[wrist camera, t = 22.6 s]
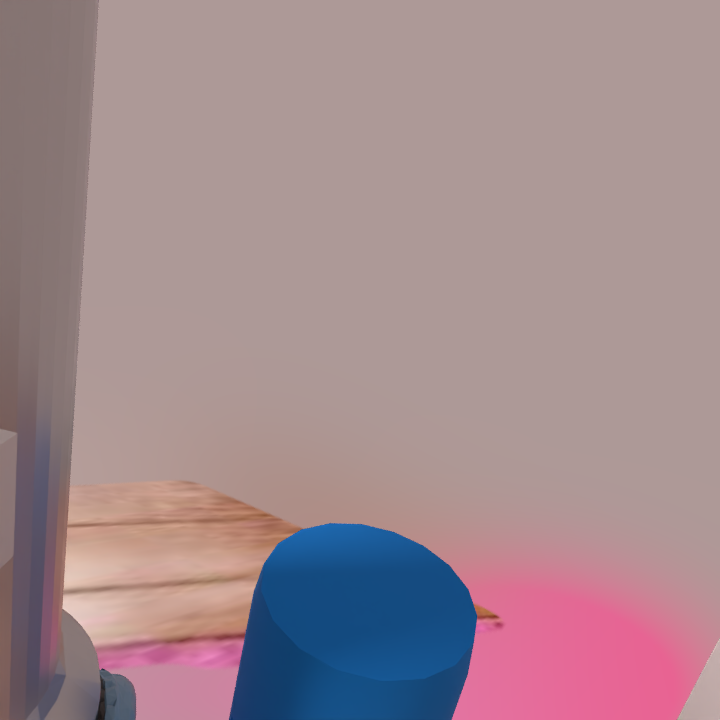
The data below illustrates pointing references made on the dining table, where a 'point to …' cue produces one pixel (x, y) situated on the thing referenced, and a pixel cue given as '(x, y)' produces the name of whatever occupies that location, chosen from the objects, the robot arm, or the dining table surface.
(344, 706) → the thermos
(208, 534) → the dining table surface
